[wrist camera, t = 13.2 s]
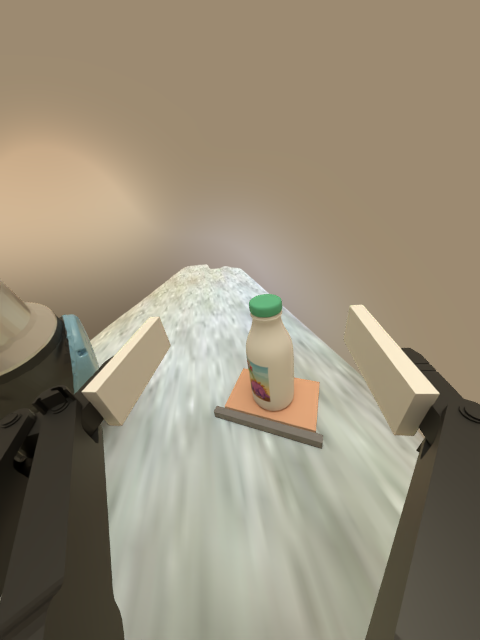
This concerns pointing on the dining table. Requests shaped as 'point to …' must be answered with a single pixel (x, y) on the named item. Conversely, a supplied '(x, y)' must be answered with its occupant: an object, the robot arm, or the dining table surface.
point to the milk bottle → (270, 354)
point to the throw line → (270, 426)
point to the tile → (295, 414)
